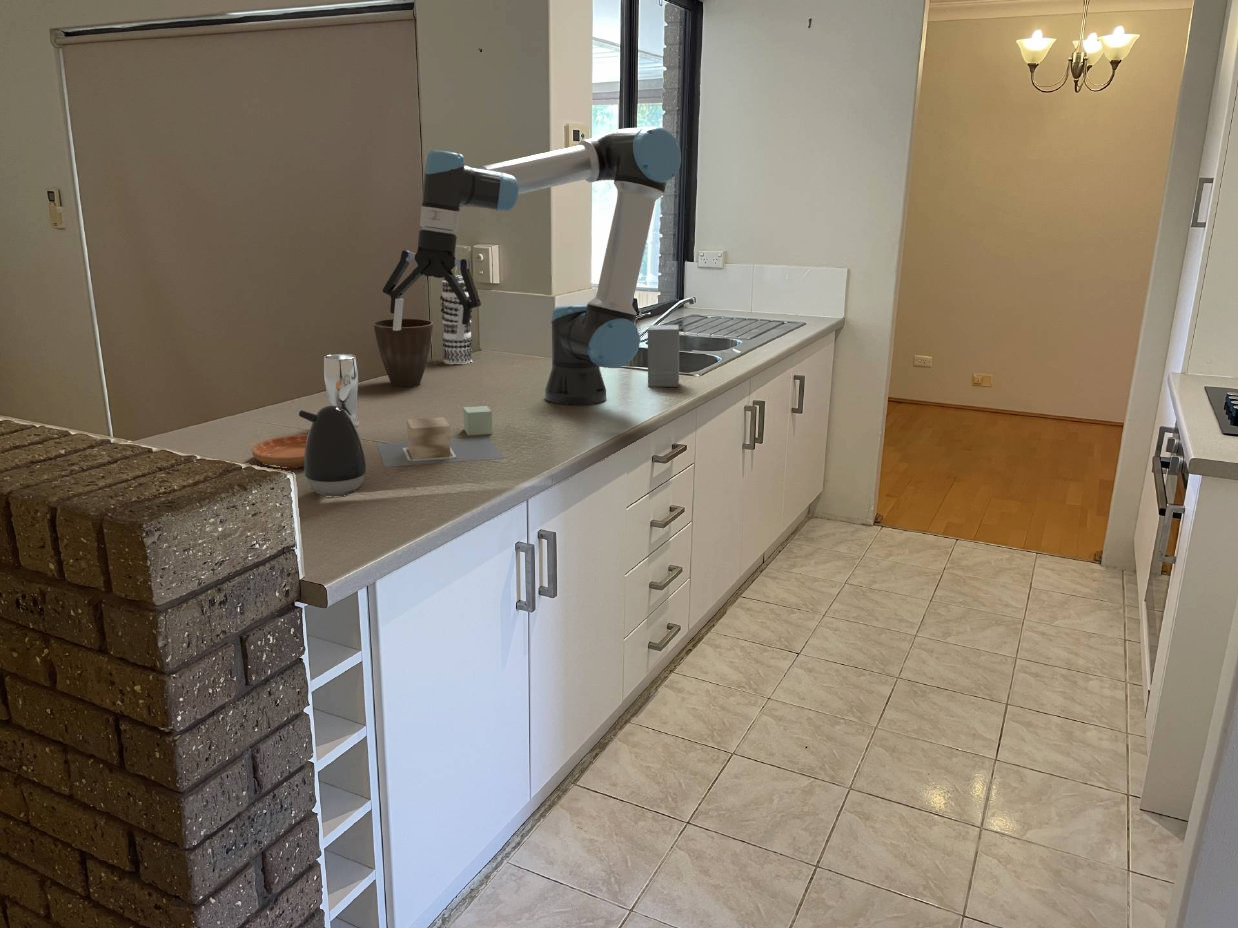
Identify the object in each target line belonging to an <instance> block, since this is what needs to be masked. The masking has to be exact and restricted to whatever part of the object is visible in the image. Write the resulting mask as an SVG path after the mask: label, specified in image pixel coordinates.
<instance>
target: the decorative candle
mask: <svg viewBox="0 0 1238 928" xmlns="http://www.w3.org/2000/svg"><path fill="white" fill-rule="evenodd" d="M454 276H455V278H456V280H457V282H458V283H459V285H460V286H461V288H462V289H463V291H464V293H465V294H466V296H467V297H468V299H469V301H471V300H470V298H469V295H468V292H467V289H466V286H465V283H464V280H463V277H462V274H454ZM442 279H443V280H441V282H442V292H441V293H442V294H441V295H440V297H439V299H440V300H441V303H440V307H441V309H440V312H441V314H442V315H441V319H442V320H441V322H442V324H443V329H444V331H443V338H442V342H443V344H442V347H444V349H443V350H442V353H443V356H442V357H443V359H444V360H443V363H444V362H445V363H444V364H446V365H453V364H462V365H468V364H467V363H469V364H471V363H470V362H472V363H473V362H474V361H473V360H472V359H473V349H472V348H471V347H472V346H473V343H471V342H472V341H473V338H472V332H471V323H472V320H471V319H472V318H473V315H471V316H470V323H469V325H465V329H464V338H463V340H460V341H458V340H456V334H457V325H458V315H459V308H463V306H462V304H461V303H460V301H459V300H458V298H457V296H456V295H455V293H454V292H453V290H452V288H451V287H450V285H449V284H448V282H447V281H446V280H445V279H444V278H442ZM472 312H473V309H471V313H472Z"/></svg>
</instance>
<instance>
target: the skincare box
mask: <svg viewBox="0 0 1238 928" xmlns="http://www.w3.org/2000/svg"><path fill="white" fill-rule="evenodd" d="M679 382H680V325H679V324H665V325H664V324H663V325H662V324H660V325H659V324H658V325H657V324H649V326H648V327H647V386H648V388H649V387H650V388H651V387H652V388H656V387H657V388H678V387H679Z"/></svg>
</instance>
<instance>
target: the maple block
mask: <svg viewBox="0 0 1238 928" xmlns="http://www.w3.org/2000/svg"><path fill="white" fill-rule="evenodd" d="M406 422H407V424H406V425H407V442H408V449H409V452H410V454H411V456H412V458H413V459H426V458H440V457H450V439H451V437H450V436H451V433H450V431H451V429H450V425H449V423H448V422H447V420H446V419H445V417H428V418H427V417H426V418H414V419H406Z"/></svg>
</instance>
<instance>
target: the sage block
mask: <svg viewBox="0 0 1238 928" xmlns="http://www.w3.org/2000/svg"><path fill="white" fill-rule="evenodd" d="M462 409H463V410H462V411H463V412H462V413H463V415H462V416H463V430H464V431H465V433H466V434H467V436H476V435H477V436H478V435H490V434H492V435H493V416H492V415H493V414H492V413H493V412H492V410H491V409H490V408H489V406H487V405H485V406H484V405H481V406H479V405H478V406H465V407H464V406H463V407H462Z"/></svg>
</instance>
